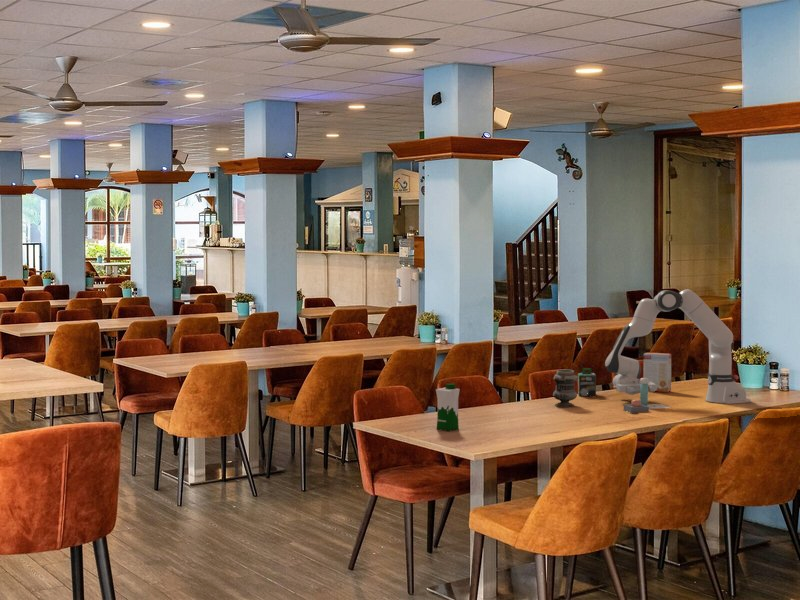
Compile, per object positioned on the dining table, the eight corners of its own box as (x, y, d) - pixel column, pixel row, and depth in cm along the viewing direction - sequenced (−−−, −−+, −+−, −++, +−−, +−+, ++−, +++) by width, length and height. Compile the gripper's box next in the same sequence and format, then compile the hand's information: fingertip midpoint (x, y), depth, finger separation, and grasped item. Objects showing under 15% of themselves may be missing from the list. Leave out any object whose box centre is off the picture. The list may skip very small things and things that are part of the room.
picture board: (661, 404, 512) (661, 403, 512) (673, 409, 499) (673, 407, 499) (627, 405, 509) (627, 404, 509) (639, 410, 496) (639, 409, 495)
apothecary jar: (563, 408, 501) (564, 372, 500) (547, 405, 511) (548, 369, 510) (582, 406, 508) (582, 370, 507) (565, 403, 518) (566, 368, 517)
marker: (645, 405, 505) (646, 377, 505) (649, 406, 502) (649, 378, 501) (638, 405, 505) (639, 378, 504) (642, 407, 501) (642, 379, 500)
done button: (638, 407, 494) (638, 399, 494) (642, 409, 490) (642, 401, 490) (629, 408, 494) (630, 399, 493) (633, 409, 489) (633, 401, 489)
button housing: (640, 409, 497) (640, 403, 497) (648, 412, 488) (648, 406, 488) (623, 410, 496) (623, 404, 495) (631, 413, 487) (631, 407, 487)
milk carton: (461, 429, 449) (461, 384, 448) (448, 432, 442) (448, 386, 441) (446, 426, 455) (446, 382, 453) (433, 429, 448) (433, 384, 447)
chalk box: (594, 394, 547) (594, 366, 546) (596, 396, 538) (596, 369, 537) (577, 393, 548) (577, 366, 547) (578, 396, 539) (578, 368, 538)
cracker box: (671, 391, 556) (671, 353, 554) (668, 392, 551) (668, 354, 549) (646, 389, 563) (646, 352, 562) (642, 390, 558) (643, 353, 556)
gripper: (611, 380, 516) (622, 384, 503) (649, 379, 520) (661, 383, 506) (611, 392, 517) (622, 396, 503) (649, 391, 520) (661, 395, 507)
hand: (642, 389), depth 505 cm, fingers open, 8 cm apart
